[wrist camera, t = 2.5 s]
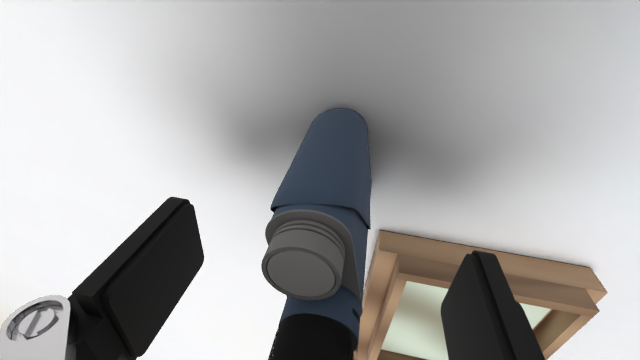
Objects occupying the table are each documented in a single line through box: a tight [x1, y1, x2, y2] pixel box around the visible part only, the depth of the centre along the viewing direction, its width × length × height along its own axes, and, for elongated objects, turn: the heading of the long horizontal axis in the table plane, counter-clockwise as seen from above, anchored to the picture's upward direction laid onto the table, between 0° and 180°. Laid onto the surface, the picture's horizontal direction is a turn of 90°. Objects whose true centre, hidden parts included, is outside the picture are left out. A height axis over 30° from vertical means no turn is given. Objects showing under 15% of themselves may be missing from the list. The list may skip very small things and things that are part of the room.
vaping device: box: [262, 108, 371, 360], centre depth 10 cm, size 3×5×12 cm, turn 10°
